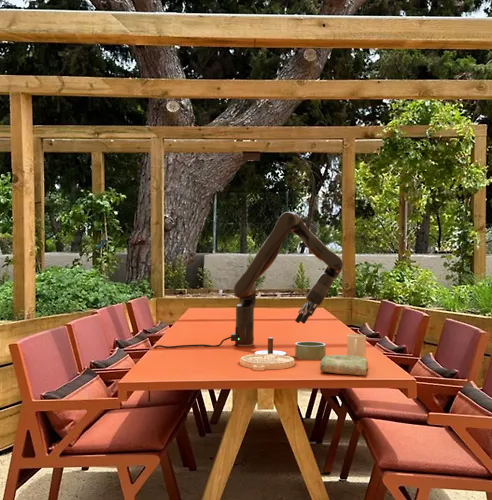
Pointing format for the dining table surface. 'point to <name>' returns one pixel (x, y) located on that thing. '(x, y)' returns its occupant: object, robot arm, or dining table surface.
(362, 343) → the mug
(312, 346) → the bowl
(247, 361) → the medallion
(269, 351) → the lid
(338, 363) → the towel
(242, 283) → the robot arm
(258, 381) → the dining table surface
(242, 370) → the dining table surface
